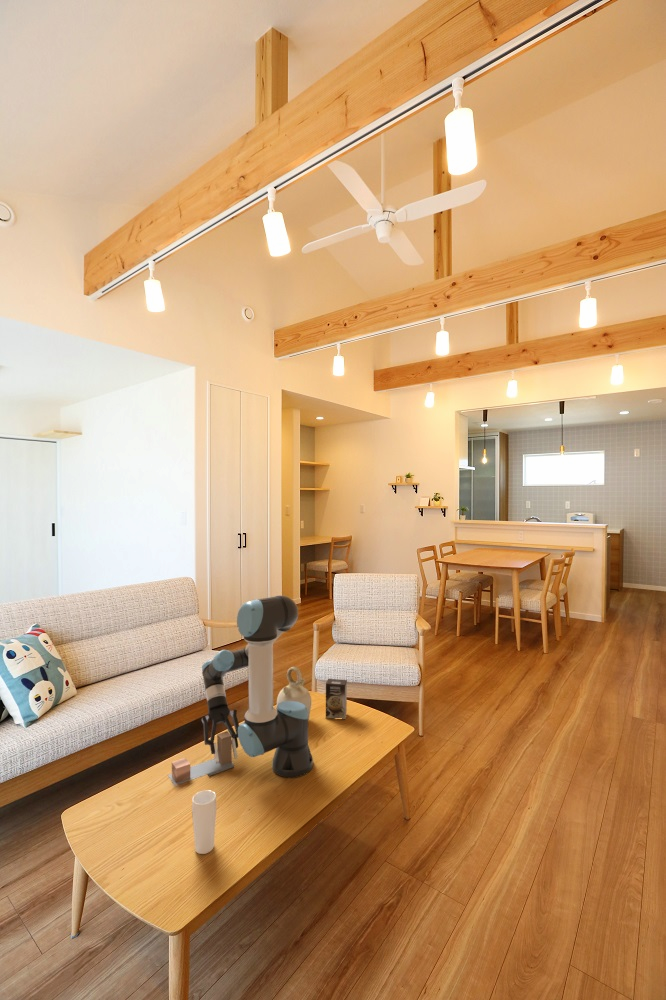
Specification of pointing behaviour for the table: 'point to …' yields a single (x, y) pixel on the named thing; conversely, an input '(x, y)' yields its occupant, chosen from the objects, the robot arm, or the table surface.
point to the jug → (295, 690)
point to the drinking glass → (204, 820)
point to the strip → (213, 760)
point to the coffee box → (336, 698)
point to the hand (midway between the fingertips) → (226, 759)
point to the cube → (181, 769)
